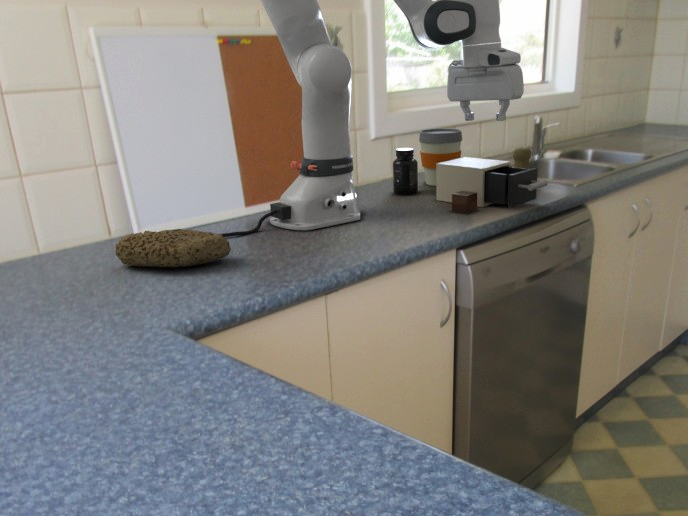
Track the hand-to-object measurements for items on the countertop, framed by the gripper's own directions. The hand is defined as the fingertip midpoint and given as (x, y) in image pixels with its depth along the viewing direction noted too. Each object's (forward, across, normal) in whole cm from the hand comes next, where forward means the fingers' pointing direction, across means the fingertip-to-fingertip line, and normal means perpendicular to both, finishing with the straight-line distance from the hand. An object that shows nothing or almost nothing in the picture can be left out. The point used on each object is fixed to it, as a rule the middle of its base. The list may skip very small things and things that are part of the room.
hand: (485, 120), depth 156 cm
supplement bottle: (+20, -30, +1) cm, 36 cm away
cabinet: (+21, -11, +6) cm, 24 cm away
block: (+21, -4, -5) cm, 22 cm away
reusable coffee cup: (+20, -32, +18) cm, 42 cm away
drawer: (+21, 0, +7) cm, 22 cm away
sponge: (+18, -17, -73) cm, 77 cm away
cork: (+22, -10, +26) cm, 36 cm away
